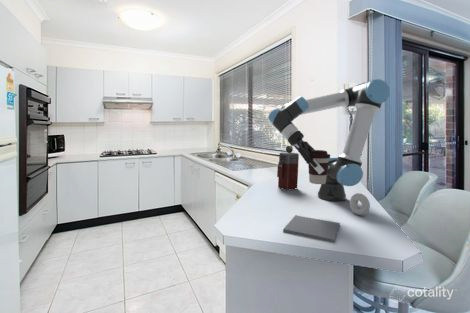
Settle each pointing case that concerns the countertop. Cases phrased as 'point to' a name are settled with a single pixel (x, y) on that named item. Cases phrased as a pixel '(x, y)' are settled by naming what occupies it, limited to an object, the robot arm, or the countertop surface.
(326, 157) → the coffee cup
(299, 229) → the mat
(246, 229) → the countertop surface
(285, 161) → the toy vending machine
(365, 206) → the donut
